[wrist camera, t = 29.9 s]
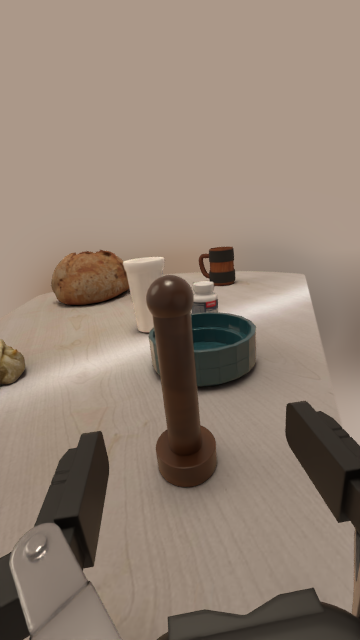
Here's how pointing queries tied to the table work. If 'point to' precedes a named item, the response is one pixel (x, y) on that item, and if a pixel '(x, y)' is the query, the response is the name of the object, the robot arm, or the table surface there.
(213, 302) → the pill bottle
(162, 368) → the pestle
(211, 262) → the mug
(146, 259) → the cup
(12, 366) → the pastry
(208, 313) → the bowl
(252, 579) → the table surface
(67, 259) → the bread
